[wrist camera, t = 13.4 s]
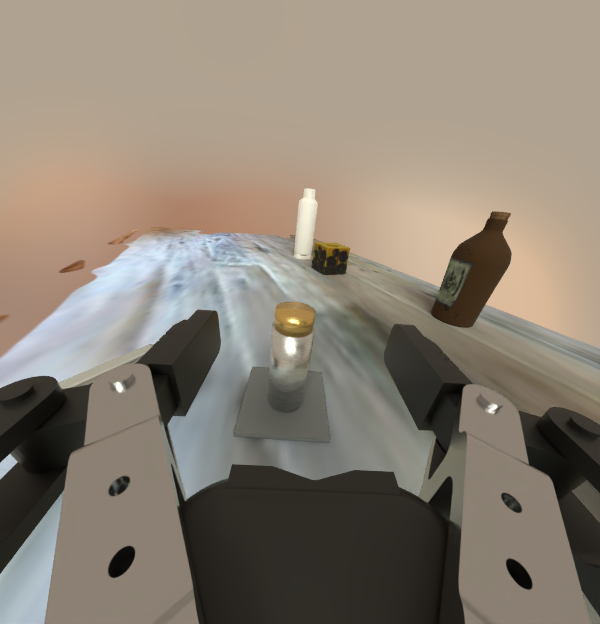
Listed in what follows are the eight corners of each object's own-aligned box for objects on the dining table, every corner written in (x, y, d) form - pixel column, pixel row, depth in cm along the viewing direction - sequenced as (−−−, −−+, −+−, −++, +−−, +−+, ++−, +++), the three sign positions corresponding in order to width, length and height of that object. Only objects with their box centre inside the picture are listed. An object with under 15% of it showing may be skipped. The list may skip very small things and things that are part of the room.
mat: (321, 375, 32) (321, 372, 32) (329, 442, 23) (330, 438, 23) (252, 369, 31) (252, 366, 31) (233, 436, 22) (233, 432, 22)
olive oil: (458, 311, 61) (504, 214, 50) (486, 331, 51) (552, 216, 40) (420, 307, 60) (459, 208, 49) (442, 326, 51) (497, 209, 40)
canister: (303, 385, 29) (316, 303, 24) (303, 414, 25) (319, 322, 20) (270, 382, 29) (275, 299, 24) (264, 410, 25) (270, 317, 20)
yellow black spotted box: (332, 267, 91) (336, 242, 87) (346, 274, 83) (351, 248, 79) (310, 267, 87) (314, 241, 83) (323, 275, 79) (327, 247, 75)
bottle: (300, 254, 107) (307, 189, 94) (314, 258, 103) (323, 190, 90) (290, 256, 100) (296, 187, 88) (304, 260, 97) (313, 188, 84)
